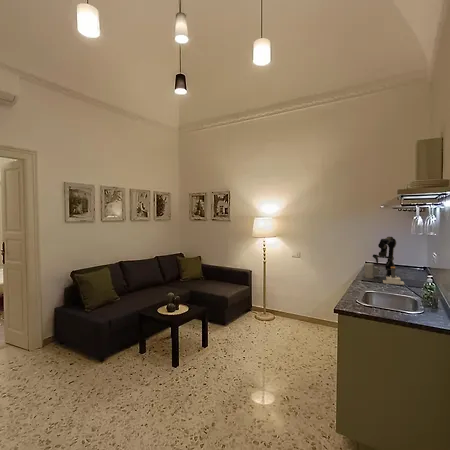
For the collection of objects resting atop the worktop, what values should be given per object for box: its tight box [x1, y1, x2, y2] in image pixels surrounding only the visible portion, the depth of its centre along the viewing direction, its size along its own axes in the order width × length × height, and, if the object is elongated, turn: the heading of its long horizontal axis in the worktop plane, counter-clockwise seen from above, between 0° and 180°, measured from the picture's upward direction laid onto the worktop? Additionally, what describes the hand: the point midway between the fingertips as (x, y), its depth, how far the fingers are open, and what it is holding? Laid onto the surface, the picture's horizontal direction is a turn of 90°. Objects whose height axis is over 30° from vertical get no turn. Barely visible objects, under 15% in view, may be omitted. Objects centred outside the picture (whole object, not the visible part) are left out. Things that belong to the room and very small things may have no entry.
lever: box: [391, 266, 396, 277], centre depth 291 cm, size 2×4×10 cm, turn 64°
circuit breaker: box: [363, 262, 381, 279], centre depth 313 cm, size 8×14×15 cm, turn 78°
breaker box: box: [382, 275, 405, 286], centre depth 289 cm, size 10×18×7 cm, turn 64°
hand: (382, 265), depth 297 cm, fingers open, 9 cm apart
